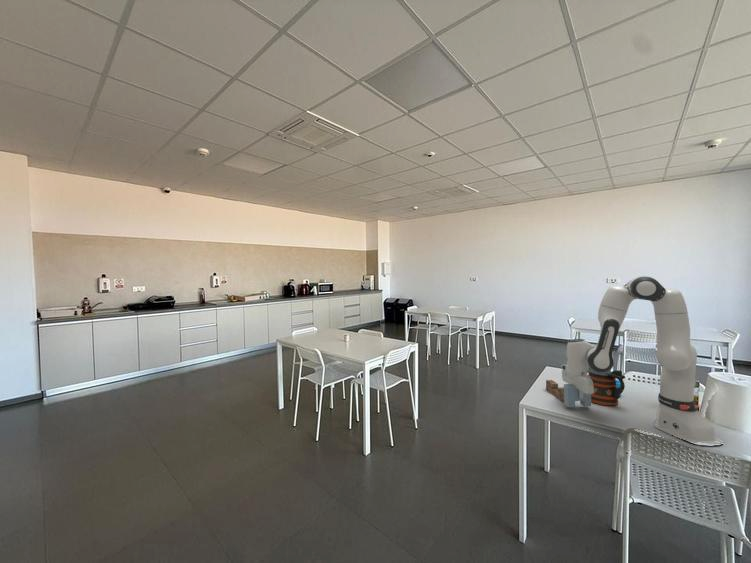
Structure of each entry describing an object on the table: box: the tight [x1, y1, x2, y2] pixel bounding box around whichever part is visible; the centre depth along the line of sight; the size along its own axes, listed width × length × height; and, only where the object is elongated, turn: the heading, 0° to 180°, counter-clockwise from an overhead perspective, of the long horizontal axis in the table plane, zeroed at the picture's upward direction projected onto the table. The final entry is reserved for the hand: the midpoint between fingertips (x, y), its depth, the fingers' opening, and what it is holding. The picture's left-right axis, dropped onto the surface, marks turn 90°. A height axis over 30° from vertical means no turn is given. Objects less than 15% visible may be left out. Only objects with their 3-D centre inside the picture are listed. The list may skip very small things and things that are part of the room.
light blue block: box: [563, 383, 592, 408], centre depth 161 cm, size 12×4×11 cm, turn 90°
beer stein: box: [587, 366, 626, 407], centre depth 167 cm, size 19×15×20 cm
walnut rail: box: [545, 379, 564, 403], centre depth 177 cm, size 18×4×6 cm, turn 179°
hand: (577, 395), depth 161 cm, fingers closed on light blue block, 3 cm apart
